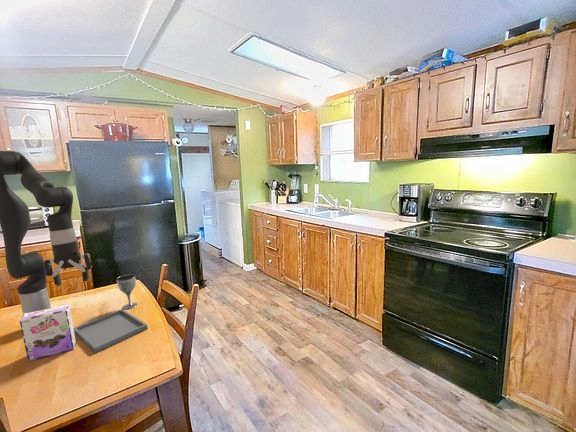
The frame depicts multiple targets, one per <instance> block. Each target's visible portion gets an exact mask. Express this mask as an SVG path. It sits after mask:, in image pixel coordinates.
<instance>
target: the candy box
mask: <svg viewBox="0 0 576 432" xmlns="http://www.w3.org/2000/svg"><path fill="white" fill-rule="evenodd" d="M71 312H72V311H71V305H70V304H65V305H61V306H56V307H51V308H50V309H45V310H40V311H35V312H30V313H24V315H23V314H22V316H21V318H20V319H19V325H20V328H21V329H20V330H21V333H22V334H21V335H22V340H23V344H24V348H25V352H26V357H27V361H28V362H31V361H36V360H39V359H43V358H46V357H50V356H54V355H55V356H56V355H58V354H62V353H65V352H70V351H73V350H75V348H76V345H77V341H76V334H75V333H74V329H73V328H74V324H73V317H72V313H71Z"/></svg>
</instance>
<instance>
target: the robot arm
mask: <svg viewBox="0 0 576 432" xmlns="http://www.w3.org/2000/svg"><path fill="white" fill-rule="evenodd" d="M9 175H12V176H13V175H20V182H21V185H22V187H23V188H25V189H26V190H28V192H30V193H31V194H32V196H33V197H34V199H35V201H36V203H37V204H38V205H39V206H40V207H43V208H57V207H59V209H58V210H57V211H56V212H54V213H51V214H49V215H48V216H47V217H46V220H47V226H48V231H49V239H50V240H49V241H50V244H51V249H52V254H53V258H47V259H44V258H43V256H42V254H41V253H40V252H38V251H31V252H27V253H23V254H22V249H21V248H22V244H23V240H24V238H25V236H26V235H27V232H28V230H29V229H30V226H31V222H32V221H31V216H30V210H29V206H28V205H27V204H26V202H24V200H22V199H21V197H20V196H18V195H17V194H16V193H15V192H14V191H13V190H12V189H11V187H10V186H9V185H8V183H7V181H6V179H5V176H9ZM73 204H74V194H73V192H72V190H71V189H70V188H68V187H66V186H55V185H54V182H52V181H51V180H50V179H48V178H47V177H45V176H43V174H41V173H40V172H39V171H37V170H36V168H35V167H34V165H32V163H31V162H30V161H29V159H28V158H26V156H25V155H23V154H22V153H21V152H18V151H14V150H0V228H1V232H2V237H3V243H4V253H5V263H6V264H5V265H6V268H7V272H8V274H9V276H10V277H11V278H12V279H14V280H20V279H22V278H25V277H27V279H25V280H24V281H23V282H22V283H21V284H19V285H18V287H17V293H18V297H19V301H20V307H21V312H22V316H23V315H24V313H30V312H35V311H40V310H45V309H50V308H52V306H51V302H50V296H49V292H48V288H47V281H48V280H47V279H48V278H47V277H52V278H53V281H54V285H55V286H57V287H60V286H62V284H63V283H62V280H61V274H60V273H61V271H62V269H63V270H67V269H73V268H76V269H77V270H80V271H81V274H82V280H83V282H87V281H88V279H89V270H91V269H92V268H93V267H94V266H93V263H92V262H93V261H92V258H91V255H90V253H89V252H87V253H84V254H80V251H79V246H78V240H77V235H76V231H75V229H74V224H73V220H72V213H73V212H72V211H73ZM81 259H82V260H83V261H84V262H85V265H84V263H83V262H81ZM54 264H56V265H57V266H56V267H55V269H54V271H53V266H52V265H54Z"/></svg>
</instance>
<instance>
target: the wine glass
mask: <svg viewBox="0 0 576 432" xmlns="http://www.w3.org/2000/svg"><path fill="white" fill-rule="evenodd" d="M136 281H137V280H136V275H135V274H130V273H129V274H124V275H120V276H119V277H117V278H116V284H117V287H118V290H119V291H120V292H122V293H123V294H125V295H126V297H127V299H128V300H127V301H128V303H127V304H124V305H123V306H122V307H121V309H123V310H125V311H126V310H133V309H135V308H137V307H138V306H137V303H138V302H131V294H132V292H133V291H134V290H135V288H136V284H137V282H136ZM136 306H137V307H136ZM134 307H135V308H134ZM132 308H133V309H132Z"/></svg>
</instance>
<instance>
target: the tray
mask: <svg viewBox="0 0 576 432" xmlns="http://www.w3.org/2000/svg"><path fill="white" fill-rule="evenodd" d="M73 329H74V334H75V336H77V337H78V338H79V339H80V340H81V341H83V343H84V344H86V346H88V347H89V348H90V349H91V350H92V351H93V353H95V354H97V353H99V352H101V351H104V350H106V349H108V348H110V347H112V346H114V345H116V344H119V343H120V342H123V341H125V340H127V339H129V338H131V337H134V336H135V335H137V334H140V333H142V332H143V331H144V332H145V331H146V330H148V324H147V323H146V322H144V321H142V320H141V319H139V318H138V317H136V316H134V315H132V314H131V313H130V312H128V311H126V310H124V309H122V308H121V309H119V310H116V311H113V312H112V313H111V312H110V313H107V314H105V315H104V316H101V317H98V318H96V319H93V320H91V321H88V322H85V323H82V324H81V325H78V326H75V327H73Z"/></svg>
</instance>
